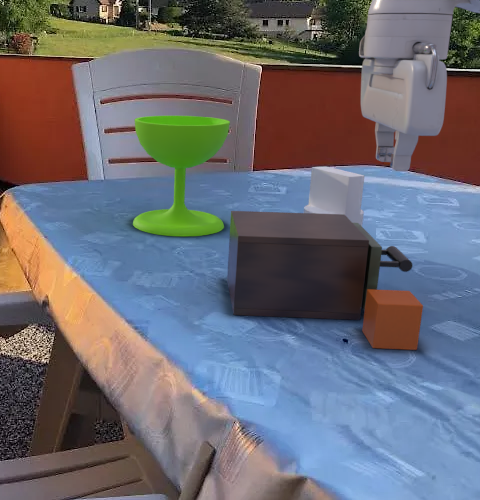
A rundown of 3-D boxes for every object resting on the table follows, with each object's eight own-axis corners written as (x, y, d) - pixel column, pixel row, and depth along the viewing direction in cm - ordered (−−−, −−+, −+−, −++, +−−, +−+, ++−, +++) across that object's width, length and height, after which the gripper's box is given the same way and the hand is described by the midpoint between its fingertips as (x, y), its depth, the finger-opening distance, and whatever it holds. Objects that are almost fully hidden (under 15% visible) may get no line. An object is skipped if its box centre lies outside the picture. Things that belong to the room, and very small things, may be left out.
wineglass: (205, 241, 114) (211, 128, 108) (116, 228, 120) (118, 121, 115) (236, 220, 127) (242, 119, 122) (154, 210, 134) (157, 113, 129)
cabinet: (337, 284, 94) (344, 214, 91) (360, 320, 82) (369, 240, 79) (226, 280, 95) (230, 210, 92) (233, 315, 83) (238, 235, 80)
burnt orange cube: (404, 333, 79) (409, 290, 77) (417, 350, 74) (423, 305, 73) (361, 331, 79) (366, 288, 77) (372, 348, 74) (377, 303, 73)
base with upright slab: (372, 251, 110) (381, 174, 107) (326, 257, 106) (334, 178, 103) (332, 236, 118) (340, 165, 114) (289, 242, 114) (295, 168, 110)
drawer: (387, 281, 93) (394, 223, 91) (414, 313, 82) (423, 248, 80) (248, 276, 94) (252, 219, 92) (257, 306, 83) (262, 242, 81)
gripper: (471, 43, 69) (451, 183, 73) (407, 43, 89) (394, 153, 93) (405, 42, 69) (388, 181, 73) (356, 42, 89) (345, 152, 93)
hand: (391, 165), depth 83 cm, fingers open, 5 cm apart
